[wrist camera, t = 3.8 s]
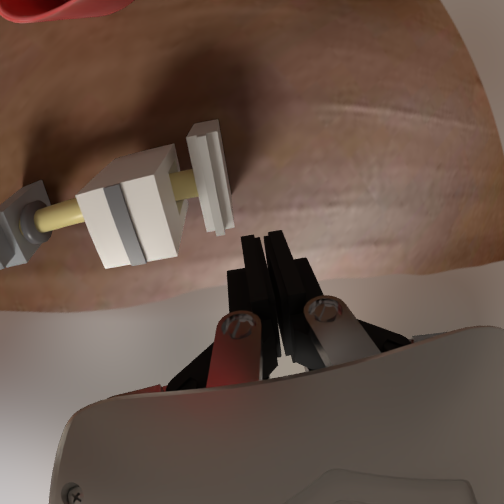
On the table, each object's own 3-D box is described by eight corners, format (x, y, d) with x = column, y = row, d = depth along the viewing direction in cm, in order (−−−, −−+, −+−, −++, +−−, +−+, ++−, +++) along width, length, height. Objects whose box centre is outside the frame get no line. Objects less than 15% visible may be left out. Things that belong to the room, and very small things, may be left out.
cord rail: (218, 119, 23) (216, 140, 15) (231, 195, 26) (236, 250, 19) (18, 178, 22) (-34, 220, 15) (42, 237, 26) (2, 290, 19)
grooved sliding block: (174, 143, 21) (152, 175, 14) (188, 204, 24) (177, 258, 17) (114, 158, 21) (73, 196, 14) (132, 215, 24) (104, 270, 17)
